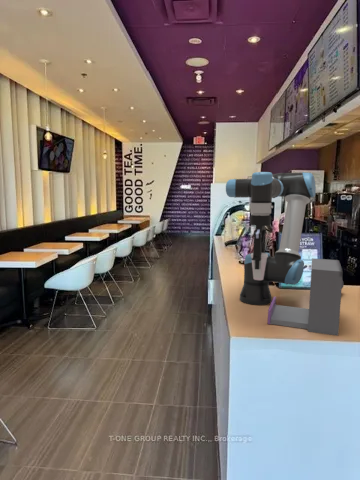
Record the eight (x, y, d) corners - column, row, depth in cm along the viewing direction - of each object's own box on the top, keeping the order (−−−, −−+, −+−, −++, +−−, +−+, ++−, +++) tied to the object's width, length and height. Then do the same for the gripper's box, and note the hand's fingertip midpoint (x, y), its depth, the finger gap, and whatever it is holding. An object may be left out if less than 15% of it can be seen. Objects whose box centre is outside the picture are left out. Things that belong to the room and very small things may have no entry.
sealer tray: (267, 323, 138) (268, 310, 137) (273, 308, 156) (273, 296, 156) (309, 329, 132) (310, 315, 132) (310, 313, 151) (310, 300, 150)
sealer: (307, 331, 131) (311, 269, 128) (308, 312, 152) (312, 258, 149) (338, 335, 127) (342, 271, 124) (334, 315, 149) (338, 260, 146)
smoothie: (247, 276, 135) (248, 241, 133) (264, 276, 136) (265, 241, 134) (252, 281, 129) (253, 244, 127) (269, 281, 129) (270, 243, 127)
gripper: (267, 216, 119) (265, 282, 122) (274, 213, 136) (271, 270, 140) (245, 215, 121) (243, 280, 125) (254, 212, 139) (253, 269, 142)
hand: (258, 275), depth 132 cm, fingers closed on smoothie, 6 cm apart
